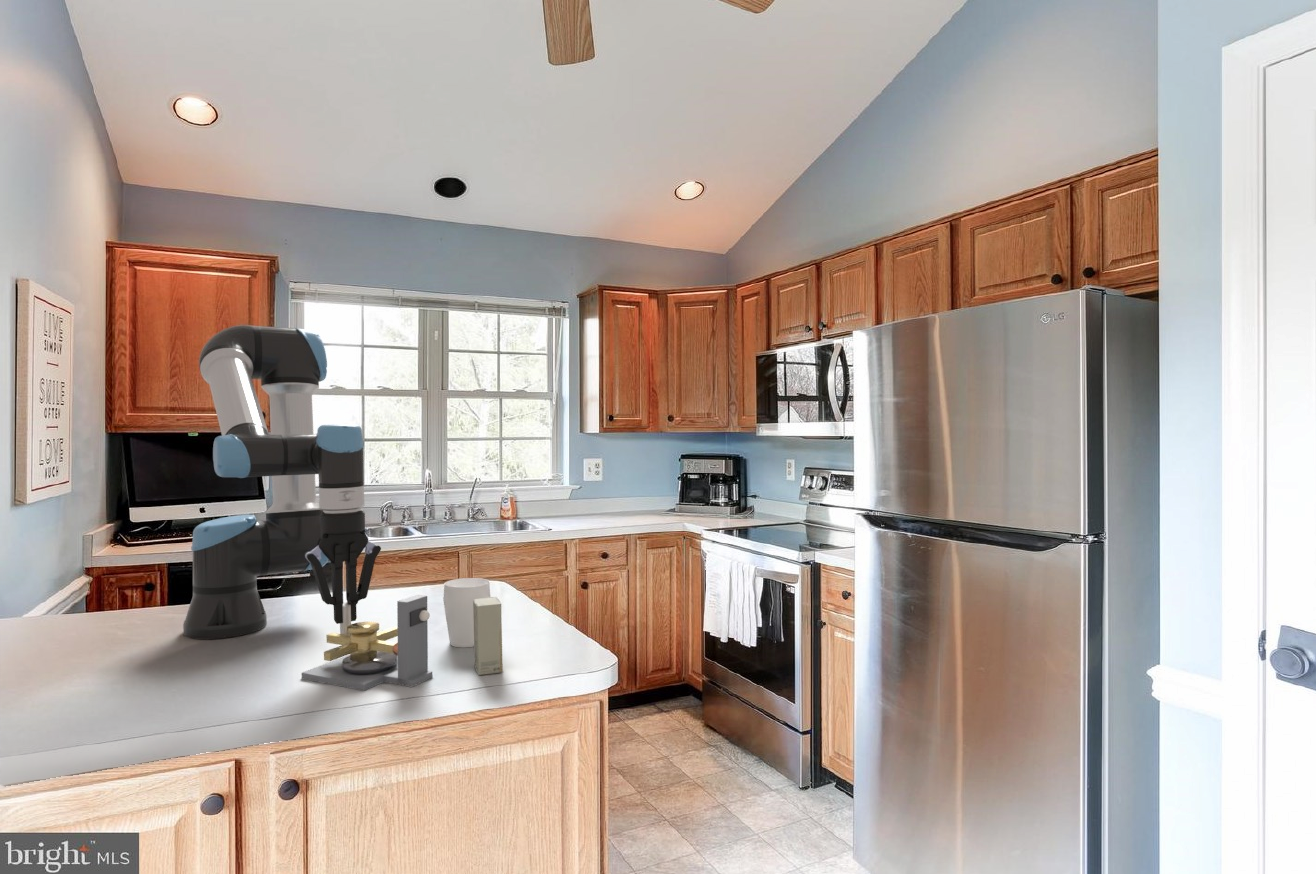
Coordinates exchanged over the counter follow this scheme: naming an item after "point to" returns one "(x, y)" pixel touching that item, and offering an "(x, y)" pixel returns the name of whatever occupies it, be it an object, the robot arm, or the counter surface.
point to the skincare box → (487, 635)
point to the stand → (409, 656)
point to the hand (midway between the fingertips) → (345, 639)
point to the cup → (463, 608)
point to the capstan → (364, 648)
